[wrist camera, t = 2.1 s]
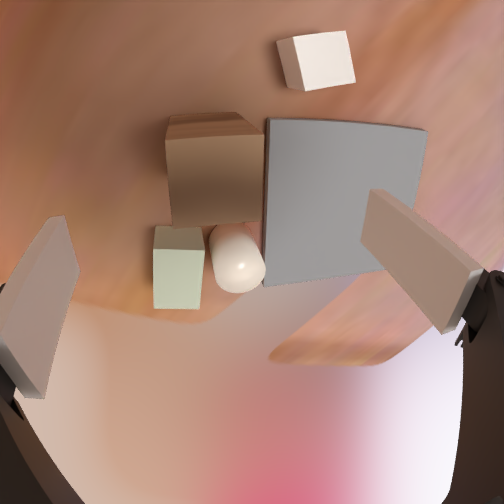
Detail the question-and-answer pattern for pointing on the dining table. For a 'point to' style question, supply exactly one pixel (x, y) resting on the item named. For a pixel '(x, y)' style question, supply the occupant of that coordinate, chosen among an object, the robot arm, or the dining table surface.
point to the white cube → (316, 60)
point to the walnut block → (214, 169)
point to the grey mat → (330, 193)
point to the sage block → (177, 267)
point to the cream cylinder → (236, 258)
